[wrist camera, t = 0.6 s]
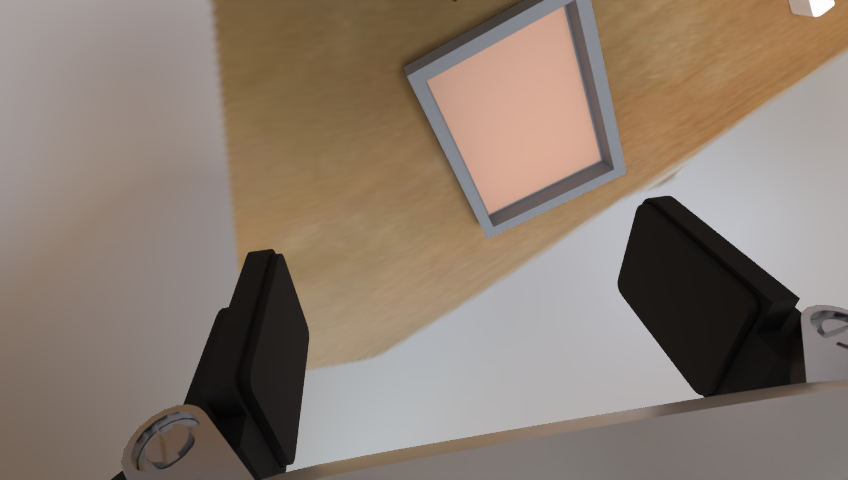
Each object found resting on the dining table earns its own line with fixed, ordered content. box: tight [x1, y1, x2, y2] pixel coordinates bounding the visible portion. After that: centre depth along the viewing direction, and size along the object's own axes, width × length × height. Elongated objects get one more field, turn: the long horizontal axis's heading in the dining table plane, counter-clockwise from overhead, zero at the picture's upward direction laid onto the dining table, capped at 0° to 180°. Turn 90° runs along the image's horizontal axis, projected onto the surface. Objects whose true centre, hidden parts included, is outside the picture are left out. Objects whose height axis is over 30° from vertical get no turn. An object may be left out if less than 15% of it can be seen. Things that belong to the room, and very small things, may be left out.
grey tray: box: [403, 0, 627, 239], centre depth 36 cm, size 14×17×3 cm
